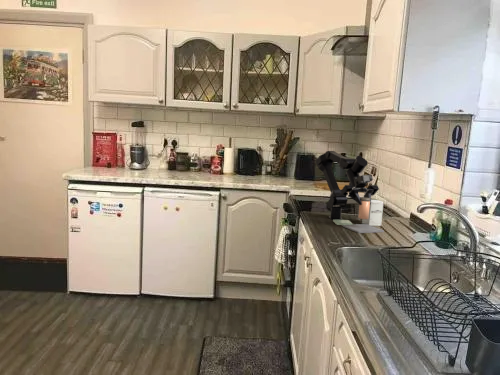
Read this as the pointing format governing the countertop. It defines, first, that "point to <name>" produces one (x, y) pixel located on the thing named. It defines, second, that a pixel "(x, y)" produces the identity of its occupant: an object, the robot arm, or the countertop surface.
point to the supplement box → (374, 213)
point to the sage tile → (342, 222)
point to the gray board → (363, 228)
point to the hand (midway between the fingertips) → (365, 204)
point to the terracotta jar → (364, 208)
